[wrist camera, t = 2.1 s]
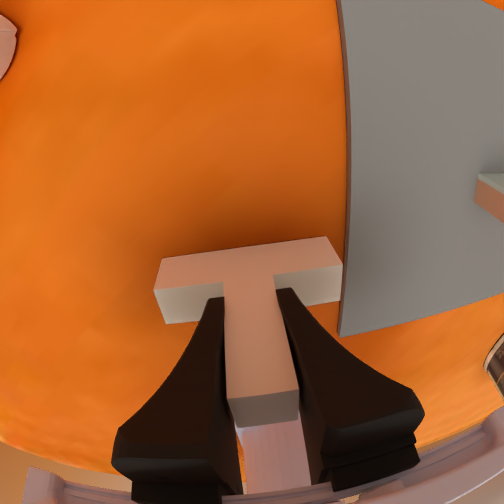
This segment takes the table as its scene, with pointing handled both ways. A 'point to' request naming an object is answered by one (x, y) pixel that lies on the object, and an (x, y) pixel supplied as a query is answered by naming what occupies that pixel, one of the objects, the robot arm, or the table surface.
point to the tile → (491, 193)
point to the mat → (420, 158)
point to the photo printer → (6, 43)
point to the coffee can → (496, 365)
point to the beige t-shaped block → (252, 314)
